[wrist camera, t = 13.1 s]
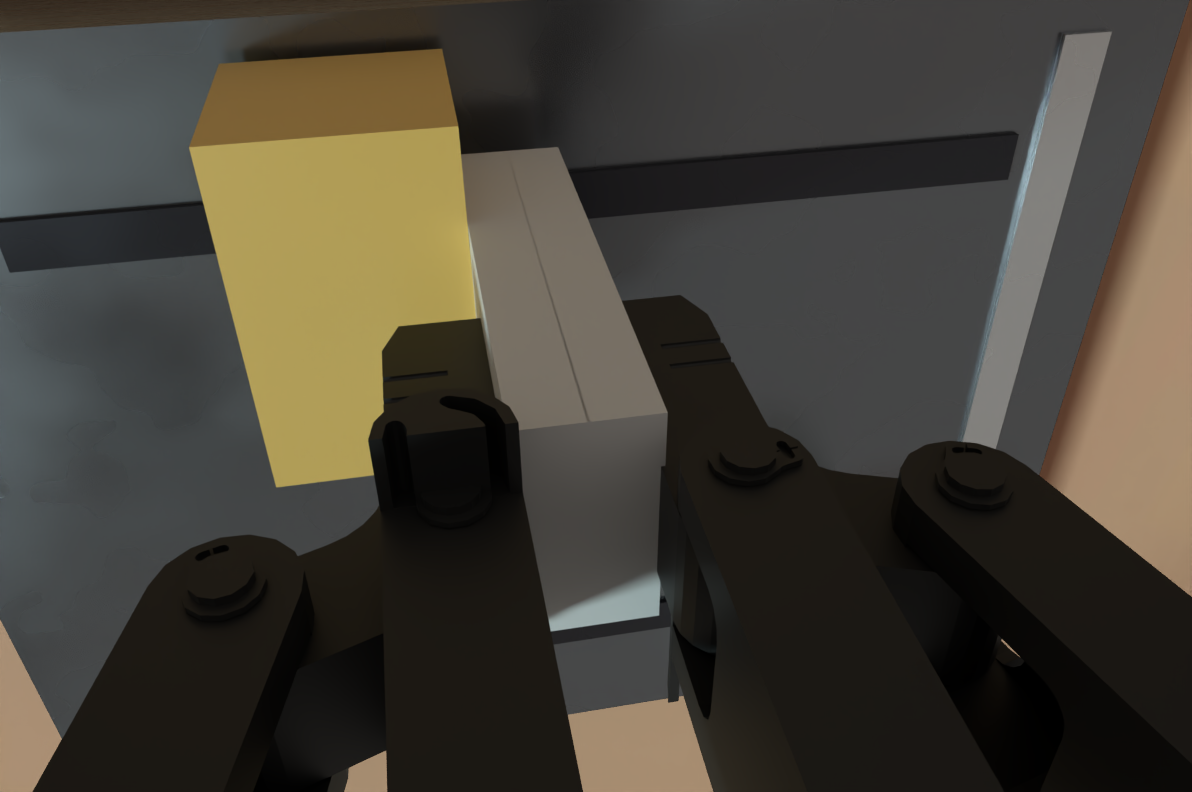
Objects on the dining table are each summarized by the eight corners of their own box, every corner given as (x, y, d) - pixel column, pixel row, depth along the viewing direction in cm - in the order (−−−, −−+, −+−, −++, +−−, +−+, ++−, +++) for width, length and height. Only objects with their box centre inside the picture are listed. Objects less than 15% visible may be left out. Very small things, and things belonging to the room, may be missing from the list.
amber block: (288, 369, 17) (276, 487, 14) (218, 63, 14) (189, 146, 11) (471, 349, 17) (489, 461, 15) (441, 48, 14) (457, 125, 12)
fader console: (116, 682, 25) (89, 796, 22) (-190, -10, 15) (-298, 53, 13) (930, 561, 28) (986, 649, 25) (1091, -80, 18) (1206, -41, 16)
